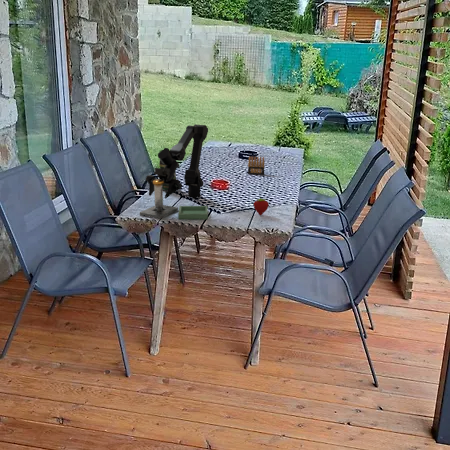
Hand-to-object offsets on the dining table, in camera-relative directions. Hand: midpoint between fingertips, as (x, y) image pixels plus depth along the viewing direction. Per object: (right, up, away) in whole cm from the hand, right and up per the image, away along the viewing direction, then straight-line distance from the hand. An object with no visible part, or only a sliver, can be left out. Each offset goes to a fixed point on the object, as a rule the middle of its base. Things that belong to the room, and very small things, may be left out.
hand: (157, 196), depth 259 cm
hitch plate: (0, -8, +4) cm, 9 cm away
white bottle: (0, -8, +4) cm, 9 cm away
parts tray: (+18, -9, +1) cm, 20 cm away
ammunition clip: (+53, +19, +84) cm, 101 cm away
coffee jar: (+1, +7, +46) cm, 47 cm away
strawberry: (+51, -9, +2) cm, 52 cm away
